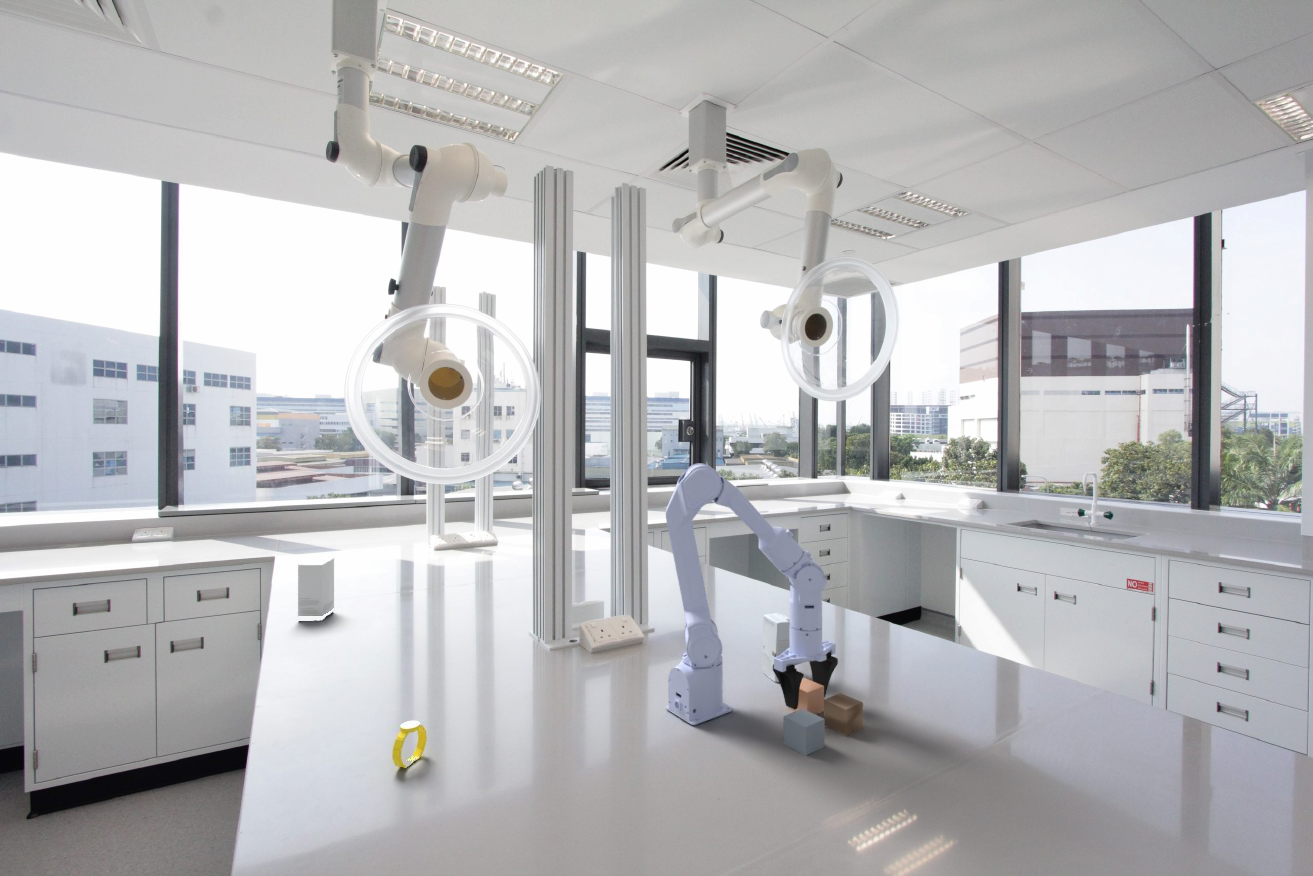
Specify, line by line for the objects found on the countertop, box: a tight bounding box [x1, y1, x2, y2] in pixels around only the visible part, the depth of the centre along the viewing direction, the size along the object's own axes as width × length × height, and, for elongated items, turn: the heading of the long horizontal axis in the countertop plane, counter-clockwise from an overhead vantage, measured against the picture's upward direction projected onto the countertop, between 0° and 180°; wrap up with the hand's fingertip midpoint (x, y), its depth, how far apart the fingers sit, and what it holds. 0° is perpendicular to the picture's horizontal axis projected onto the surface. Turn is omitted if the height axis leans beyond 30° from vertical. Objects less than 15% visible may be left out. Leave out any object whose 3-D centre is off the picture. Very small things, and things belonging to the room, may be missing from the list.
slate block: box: [783, 709, 826, 756], centre depth 95 cm, size 4×4×4 cm
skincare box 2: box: [761, 612, 790, 683], centre depth 122 cm, size 6×4×12 cm
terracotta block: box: [787, 677, 825, 715], centre depth 108 cm, size 4×4×4 cm
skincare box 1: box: [297, 557, 335, 617], centre depth 163 cm, size 8×7×16 cm
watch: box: [391, 720, 428, 769], centre depth 91 cm, size 6×3×6 cm, turn 163°
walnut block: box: [823, 692, 864, 737], centre depth 101 cm, size 4×4×4 cm
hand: (805, 701), depth 108 cm, fingers open, 7 cm apart
